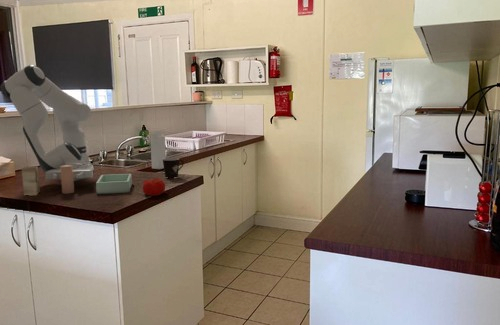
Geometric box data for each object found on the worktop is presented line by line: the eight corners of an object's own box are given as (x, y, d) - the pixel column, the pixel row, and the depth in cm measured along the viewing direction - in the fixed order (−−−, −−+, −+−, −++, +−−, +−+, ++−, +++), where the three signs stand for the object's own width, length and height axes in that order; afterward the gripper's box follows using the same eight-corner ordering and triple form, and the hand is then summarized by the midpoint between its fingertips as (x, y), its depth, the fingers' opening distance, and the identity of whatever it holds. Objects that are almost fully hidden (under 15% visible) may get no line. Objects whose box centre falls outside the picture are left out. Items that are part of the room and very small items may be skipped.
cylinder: (63, 191, 188) (61, 165, 186) (75, 190, 189) (73, 164, 187) (61, 193, 183) (58, 167, 181) (73, 193, 184) (71, 166, 182)
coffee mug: (164, 180, 211) (164, 160, 210) (161, 176, 219) (161, 158, 217) (187, 178, 215) (186, 159, 214) (183, 175, 223) (182, 157, 222)
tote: (102, 184, 200) (101, 174, 200) (131, 183, 203) (131, 173, 202) (96, 193, 183) (95, 182, 182) (129, 192, 186) (128, 181, 185)
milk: (151, 168, 243) (149, 131, 240) (158, 166, 249) (157, 130, 245) (159, 169, 240) (157, 131, 237) (166, 167, 246) (164, 130, 242)
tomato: (143, 198, 176) (142, 183, 175) (142, 192, 186) (141, 178, 185) (166, 196, 179) (166, 181, 178) (164, 190, 189) (163, 176, 188)
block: (27, 193, 185) (25, 166, 183) (39, 192, 186) (37, 166, 184) (24, 195, 180) (21, 168, 178) (36, 195, 181) (34, 168, 179)
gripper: (49, 165, 195) (40, 171, 182) (94, 164, 199) (89, 169, 186) (50, 178, 196) (42, 185, 183) (95, 176, 200) (90, 183, 187)
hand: (66, 177), depth 184 cm, fingers open, 8 cm apart
